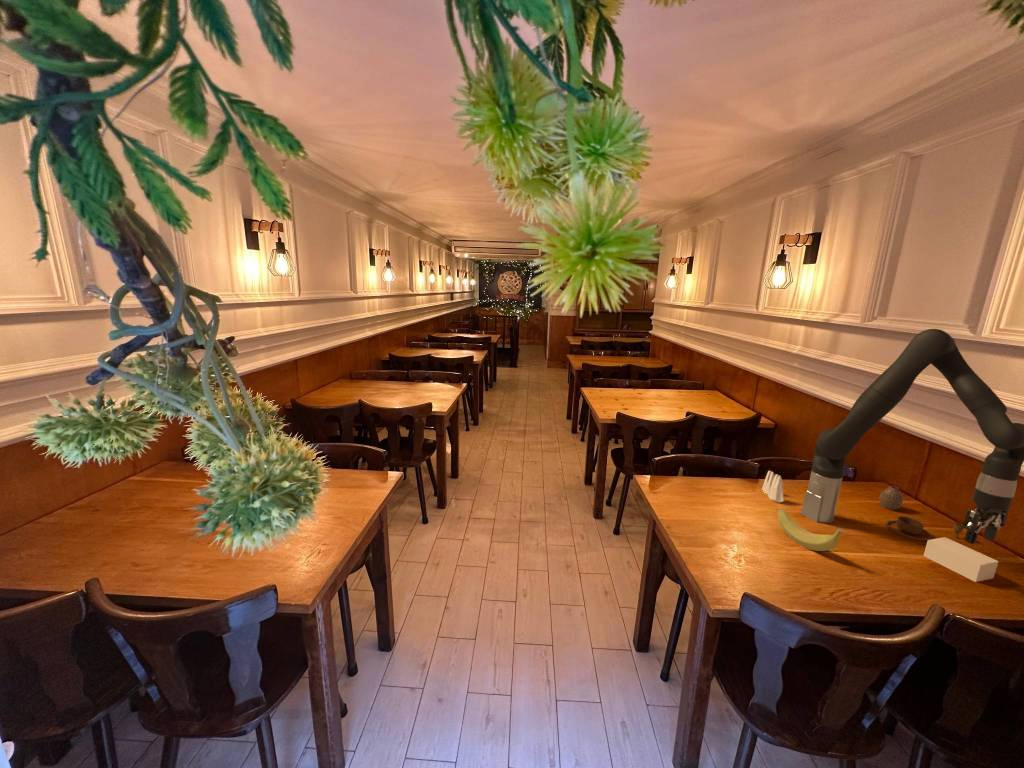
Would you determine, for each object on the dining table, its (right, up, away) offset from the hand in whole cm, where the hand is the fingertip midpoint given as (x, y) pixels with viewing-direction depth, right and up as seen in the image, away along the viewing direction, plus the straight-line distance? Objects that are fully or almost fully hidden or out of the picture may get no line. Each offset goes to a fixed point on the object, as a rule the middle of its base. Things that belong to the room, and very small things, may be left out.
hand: (979, 540), depth 128 cm
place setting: (+5, -7, +23) cm, 24 cm away
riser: (-1, -10, +5) cm, 11 cm away
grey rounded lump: (+10, -3, +43) cm, 44 cm away
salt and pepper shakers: (-33, 0, +47) cm, 57 cm away
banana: (-45, -3, +20) cm, 50 cm away
